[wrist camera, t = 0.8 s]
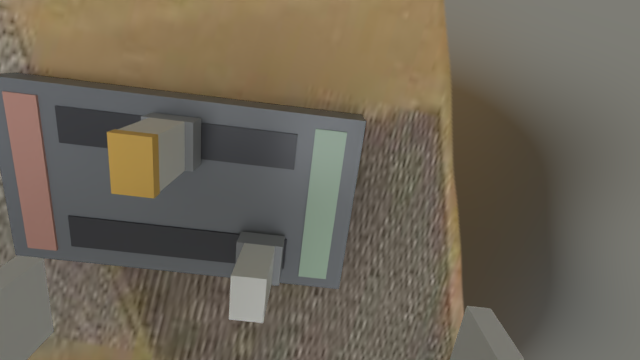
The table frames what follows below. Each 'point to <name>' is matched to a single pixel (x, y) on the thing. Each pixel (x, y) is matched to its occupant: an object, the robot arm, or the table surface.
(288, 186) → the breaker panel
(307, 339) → the table surface
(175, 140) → the handle
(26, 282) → the robot arm
